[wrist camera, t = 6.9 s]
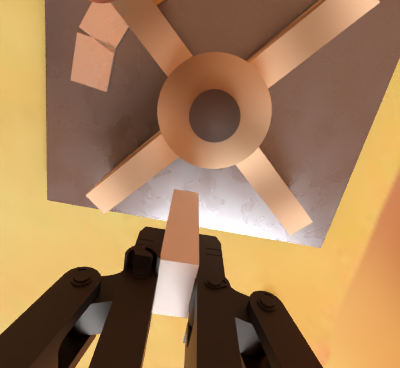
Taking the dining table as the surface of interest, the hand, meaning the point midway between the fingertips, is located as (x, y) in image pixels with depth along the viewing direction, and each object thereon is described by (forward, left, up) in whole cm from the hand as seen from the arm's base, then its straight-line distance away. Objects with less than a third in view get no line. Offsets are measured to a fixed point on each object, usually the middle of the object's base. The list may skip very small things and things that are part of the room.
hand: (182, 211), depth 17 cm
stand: (+1, +6, -6) cm, 9 cm away
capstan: (+1, +6, -5) cm, 8 cm away
